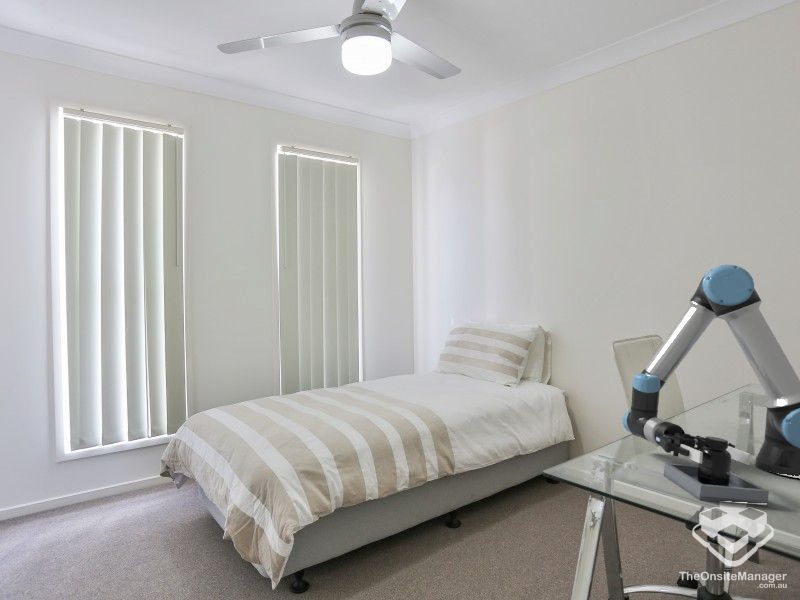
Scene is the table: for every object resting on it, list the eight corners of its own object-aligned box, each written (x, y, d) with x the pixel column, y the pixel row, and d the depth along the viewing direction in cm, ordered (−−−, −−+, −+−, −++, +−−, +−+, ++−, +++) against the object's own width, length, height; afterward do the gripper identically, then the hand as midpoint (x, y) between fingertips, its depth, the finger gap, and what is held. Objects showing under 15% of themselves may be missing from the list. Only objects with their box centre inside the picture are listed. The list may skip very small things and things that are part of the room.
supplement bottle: (734, 493, 119) (738, 444, 119) (703, 488, 120) (707, 440, 120) (721, 483, 125) (725, 437, 125) (692, 479, 127) (696, 433, 127)
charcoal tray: (723, 480, 131) (724, 468, 131) (767, 506, 115) (768, 491, 115) (663, 475, 131) (664, 462, 131) (699, 500, 115) (700, 485, 115)
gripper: (701, 448, 143) (767, 474, 122) (624, 445, 138) (679, 472, 118) (703, 423, 143) (769, 445, 122) (627, 419, 138) (681, 441, 118)
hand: (725, 458), depth 120 cm, fingers open, 13 cm apart
